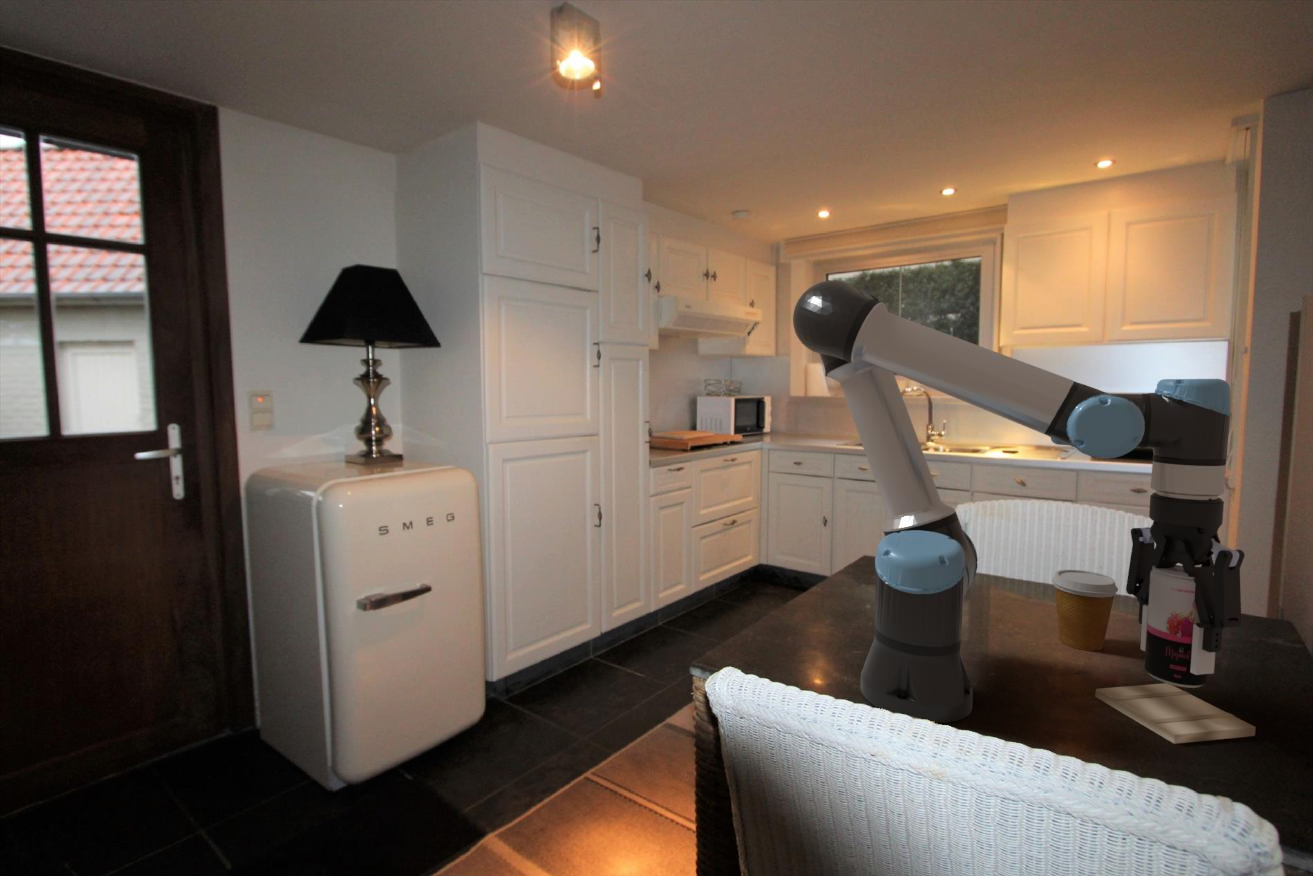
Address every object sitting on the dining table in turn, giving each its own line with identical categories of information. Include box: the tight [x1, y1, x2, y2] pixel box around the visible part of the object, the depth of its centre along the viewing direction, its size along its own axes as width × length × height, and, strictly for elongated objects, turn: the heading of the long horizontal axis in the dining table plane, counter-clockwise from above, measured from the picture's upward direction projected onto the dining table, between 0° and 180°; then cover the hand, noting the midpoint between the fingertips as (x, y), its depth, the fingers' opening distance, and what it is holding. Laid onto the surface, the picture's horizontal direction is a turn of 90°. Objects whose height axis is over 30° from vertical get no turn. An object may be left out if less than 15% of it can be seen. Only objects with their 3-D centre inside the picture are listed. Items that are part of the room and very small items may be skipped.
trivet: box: [1094, 682, 1256, 744], centre depth 86 cm, size 12×12×1 cm
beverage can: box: [1144, 564, 1208, 689], centre depth 85 cm, size 6×7×15 cm
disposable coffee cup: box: [1051, 569, 1119, 652], centre depth 109 cm, size 10×10×12 cm
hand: (1175, 660), depth 85 cm, fingers closed on beverage can, 6 cm apart
